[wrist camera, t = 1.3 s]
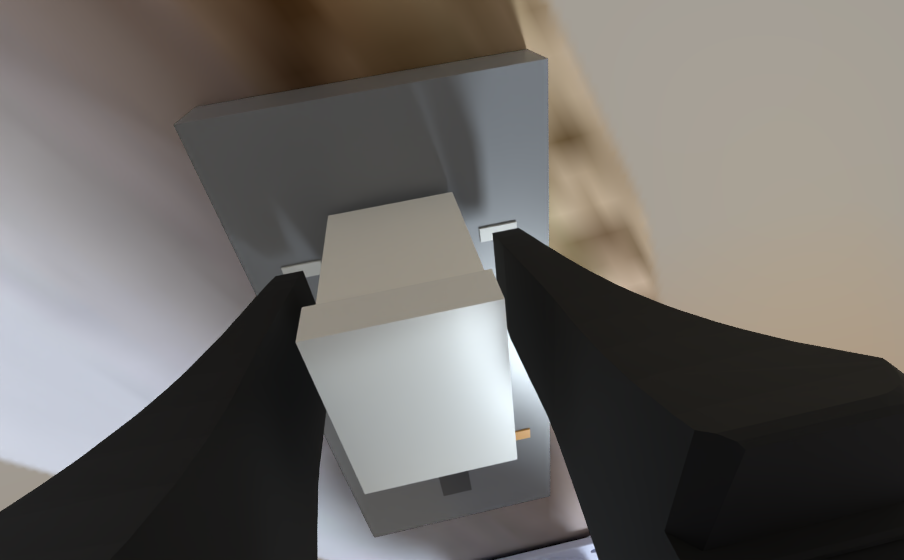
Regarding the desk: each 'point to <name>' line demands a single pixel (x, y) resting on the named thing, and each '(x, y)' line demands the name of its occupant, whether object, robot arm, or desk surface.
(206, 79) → the desk surface
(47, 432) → the desk surface
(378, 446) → the fader tab
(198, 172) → the console
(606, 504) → the robot arm
